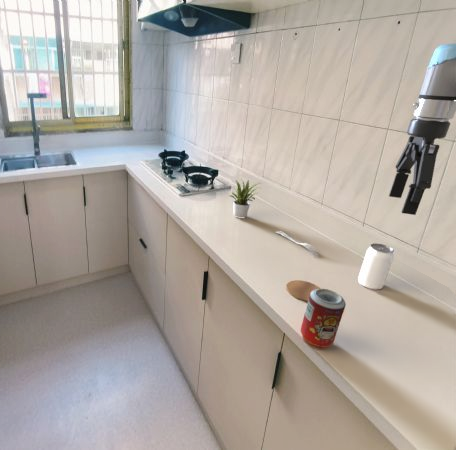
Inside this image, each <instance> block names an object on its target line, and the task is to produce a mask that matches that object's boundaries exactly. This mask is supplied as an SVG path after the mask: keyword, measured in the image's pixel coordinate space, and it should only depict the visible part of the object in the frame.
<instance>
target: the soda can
mask: <svg viewBox="0 0 456 450" xmlns="http://www.w3.org/2000/svg"><path fill="white" fill-rule="evenodd" d="M346 305H347V304H346V300H345V299H344V297H342V295H340V294H339V293H338V292H336V291H333V290H330V289H328V288H321V289H316V290H313V291H312V292H311V293H310V296H309V299H308V302H307V304H306V308H305V311H304V314H303V318H302V321H301V322H302V323H301V326H300V333H301V338H302V340H303V342H304V343H305V344H306V345H308V346H309V347H311V348H314V349H317V350H325V349H328V348H329V346H331V345H333V343H334V341H335V338H336V337H337V333H338V330H339V327H340V324H341V321H342V317H343V315H344V312H345V308H346Z"/></svg>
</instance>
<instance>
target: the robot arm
mask: <svg viewBox="0 0 456 450" xmlns="http://www.w3.org/2000/svg"><path fill="white" fill-rule="evenodd" d="M412 107H413V108H414V110H413V113H412V116H413V117H414V118H412V119H410V121H409V125H408V127H407V131H406V133H407V136H409V137H408V140H407V141H406V145H405V147H404V149H403V150H402V153H401V155H400V157H399V159H398V161H397V162H396V164H395V169H396V171H395V172H396V173H395V175H394V179H393V182H392V185H391V188H390V190H389V194H388V197H390V198H397V199H401V198H402V196H403V194H404V190H405V188H406V185H407V183H408V182H407V181H408V179H409V176H410V174H412V168H413V176H412V183H410V184H409V185H408V188H409V189H408V192H407V195H406V197H405V201H404V203H403V206H402V209H401V214H406V215H413V216H416V215H417V212H418V209H419V206H420V205H421V201H422V199H423V195H424V193H425V190H427V189H431V188H432V183H433V177H434V171H435V166H436V160H437V155H438V152H439V150H440V145H439V144H435V140H436V139H439V140H440V139H444V138H446V137H447V134H448V133H449V130H450V126H451V121H450V120H452V119H454V117H455V114H456V43H445V44H441V45H439V46H437V47H436V48H435V50H434V52H433V54H432V56H431V58H430V62H429V64H428V66H427V67H426V72H425V76H424V79H423V83H422V84H421V89H420V91H419V95H418V99H417V102H414V103H413V106H412Z"/></svg>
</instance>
